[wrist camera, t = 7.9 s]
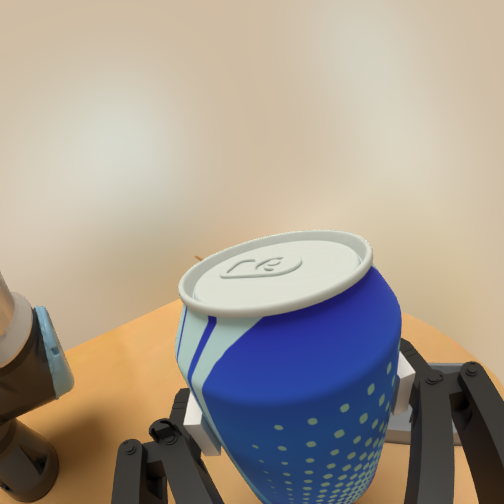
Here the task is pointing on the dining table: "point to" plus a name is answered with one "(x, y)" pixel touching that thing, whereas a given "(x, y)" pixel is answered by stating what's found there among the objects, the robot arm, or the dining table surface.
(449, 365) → the tray
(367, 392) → the beer can
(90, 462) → the dining table surface
